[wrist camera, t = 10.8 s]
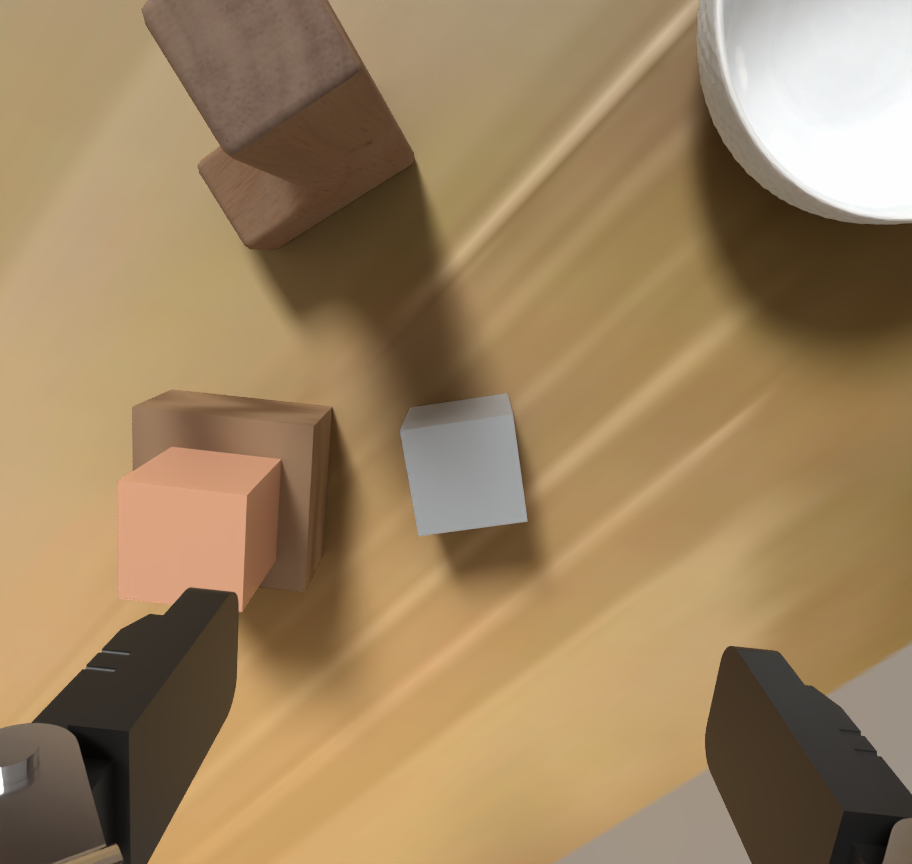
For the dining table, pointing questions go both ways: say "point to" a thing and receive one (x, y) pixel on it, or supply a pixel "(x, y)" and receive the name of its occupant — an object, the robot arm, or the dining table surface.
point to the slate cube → (463, 465)
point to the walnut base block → (255, 434)
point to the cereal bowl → (815, 100)
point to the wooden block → (279, 110)
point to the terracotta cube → (197, 524)
